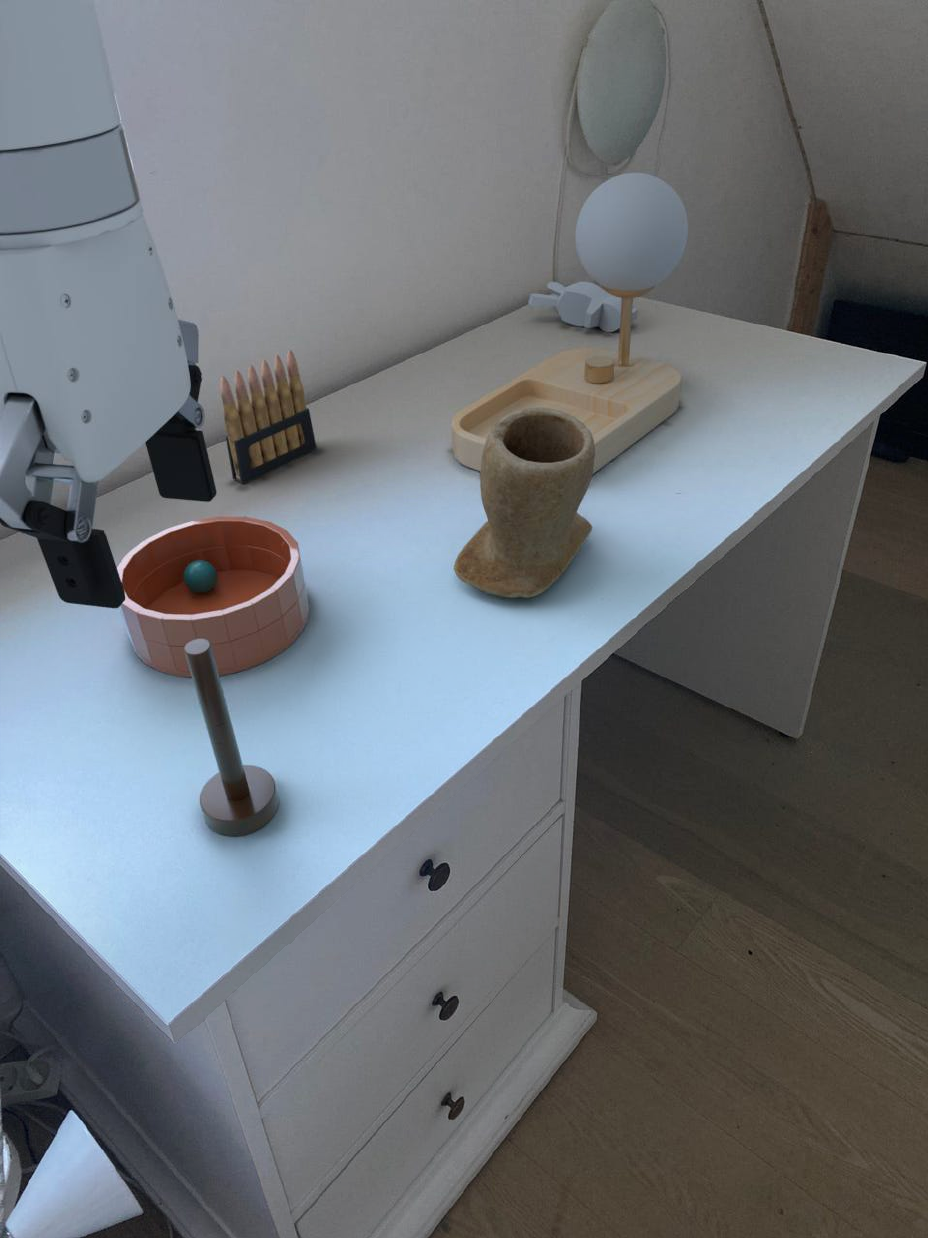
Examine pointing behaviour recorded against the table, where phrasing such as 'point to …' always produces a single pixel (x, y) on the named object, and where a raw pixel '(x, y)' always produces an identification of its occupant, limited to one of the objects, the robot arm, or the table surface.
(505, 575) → the stone cup
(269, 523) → the bowl
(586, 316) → the bunny figurine
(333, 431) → the table surface
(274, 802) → the brown disc-based tamper
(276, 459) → the ammunition clip
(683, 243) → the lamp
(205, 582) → the bead
